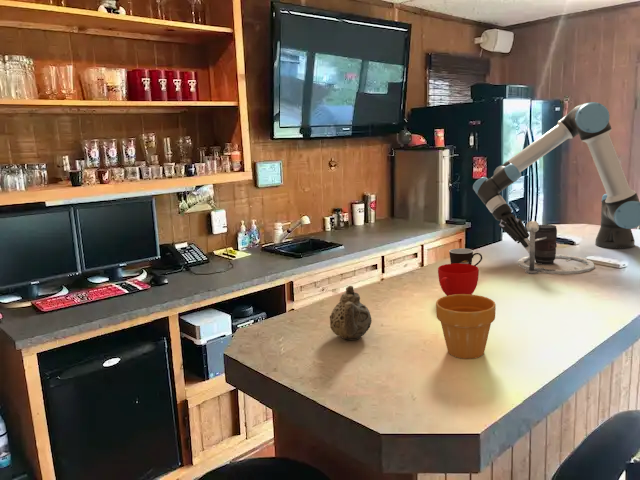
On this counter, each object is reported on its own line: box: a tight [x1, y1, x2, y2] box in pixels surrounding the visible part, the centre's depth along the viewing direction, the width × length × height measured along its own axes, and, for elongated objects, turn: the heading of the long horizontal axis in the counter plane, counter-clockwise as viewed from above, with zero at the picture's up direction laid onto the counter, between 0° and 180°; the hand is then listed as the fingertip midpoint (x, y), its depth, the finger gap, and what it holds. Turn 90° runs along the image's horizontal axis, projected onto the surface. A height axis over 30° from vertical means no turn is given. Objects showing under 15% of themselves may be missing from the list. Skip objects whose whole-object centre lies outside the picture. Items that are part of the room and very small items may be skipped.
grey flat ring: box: [517, 254, 595, 275], centre depth 207 cm, size 27×27×1 cm
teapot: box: [329, 285, 373, 340], centre depth 144 cm, size 21×12×15 cm, turn 178°
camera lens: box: [535, 224, 558, 266], centre depth 209 cm, size 8×8×15 cm
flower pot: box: [435, 294, 497, 360], centre depth 131 cm, size 14×14×13 cm
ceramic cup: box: [437, 263, 480, 296], centre depth 173 cm, size 13×17×10 cm
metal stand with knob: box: [524, 220, 547, 275], centre depth 199 cm, size 11×4×20 cm, turn 125°
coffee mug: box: [448, 247, 483, 267], centre depth 197 cm, size 12×9×10 cm
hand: (533, 252), depth 214 cm, fingers closed
